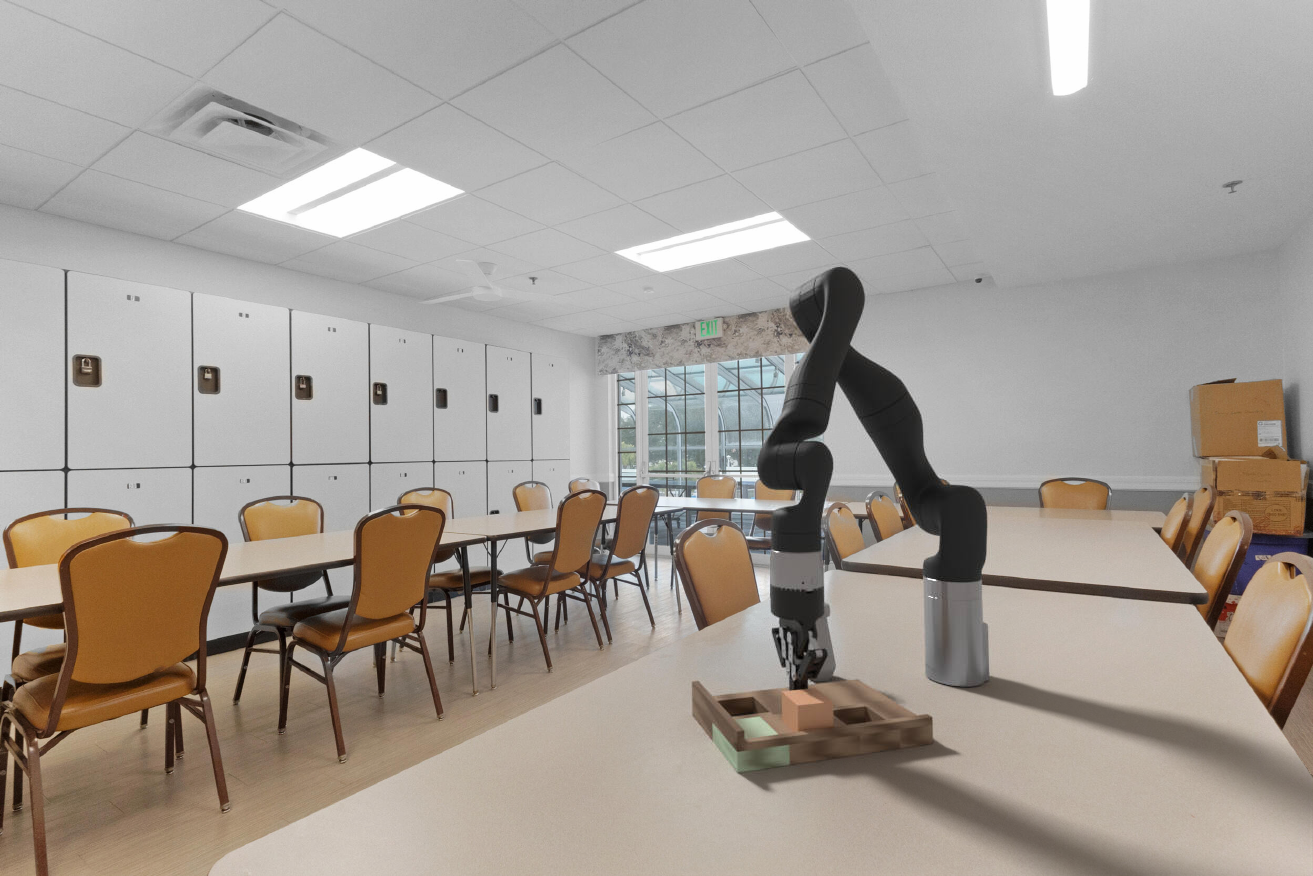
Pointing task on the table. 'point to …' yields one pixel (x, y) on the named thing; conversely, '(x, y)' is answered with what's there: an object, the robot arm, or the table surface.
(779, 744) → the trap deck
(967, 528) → the robot arm
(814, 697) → the terracotta block
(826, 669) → the salt shaker
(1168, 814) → the table surface
